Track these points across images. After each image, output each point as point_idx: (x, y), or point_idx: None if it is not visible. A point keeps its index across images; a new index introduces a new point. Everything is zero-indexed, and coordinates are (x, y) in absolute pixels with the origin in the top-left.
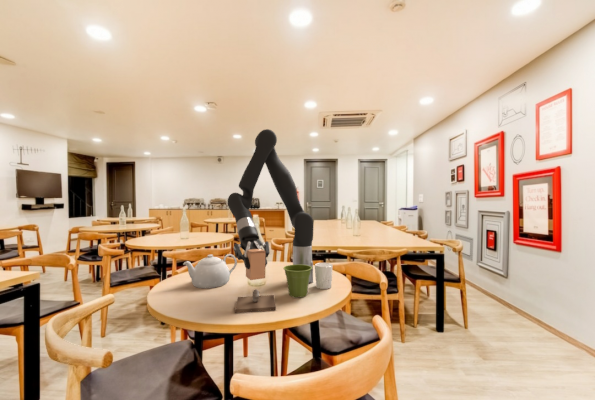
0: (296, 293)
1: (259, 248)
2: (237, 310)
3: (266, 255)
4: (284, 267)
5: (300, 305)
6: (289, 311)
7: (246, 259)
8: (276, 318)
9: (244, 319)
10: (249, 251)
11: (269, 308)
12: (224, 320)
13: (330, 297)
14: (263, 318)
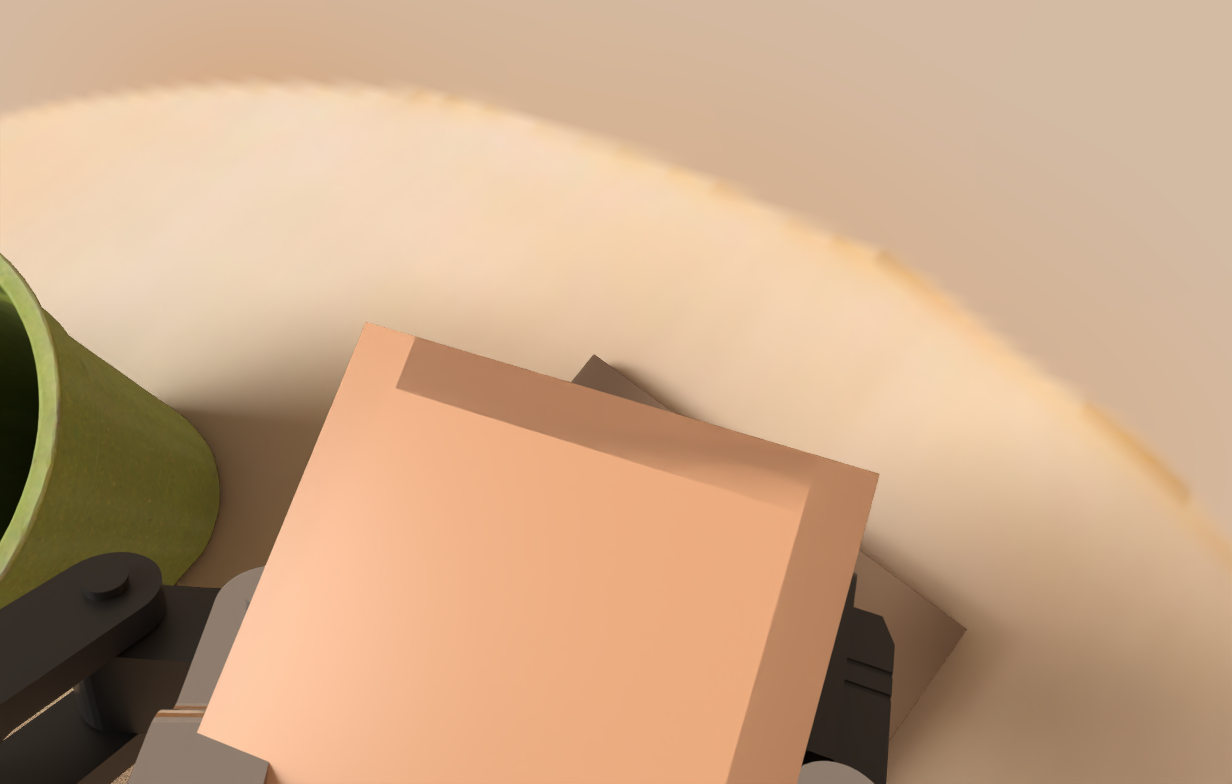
0: (189, 431)
1: (233, 773)
2: (939, 610)
3: (207, 599)
4: None
5: (348, 280)
6: (525, 253)
7: (832, 751)
8: (716, 226)
9: (958, 420)
10: (836, 623)
11: (647, 397)
12: (1135, 550)
13: (5, 211)
14: (805, 308)
